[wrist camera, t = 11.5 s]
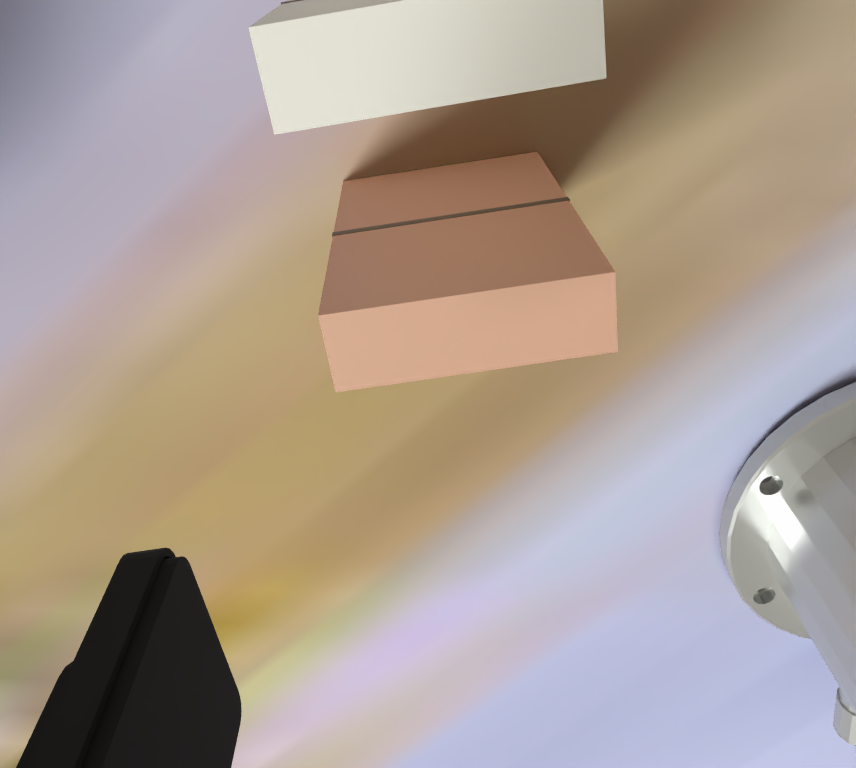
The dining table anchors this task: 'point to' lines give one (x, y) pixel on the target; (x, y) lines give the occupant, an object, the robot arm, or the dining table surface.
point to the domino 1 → (418, 54)
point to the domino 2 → (461, 275)
